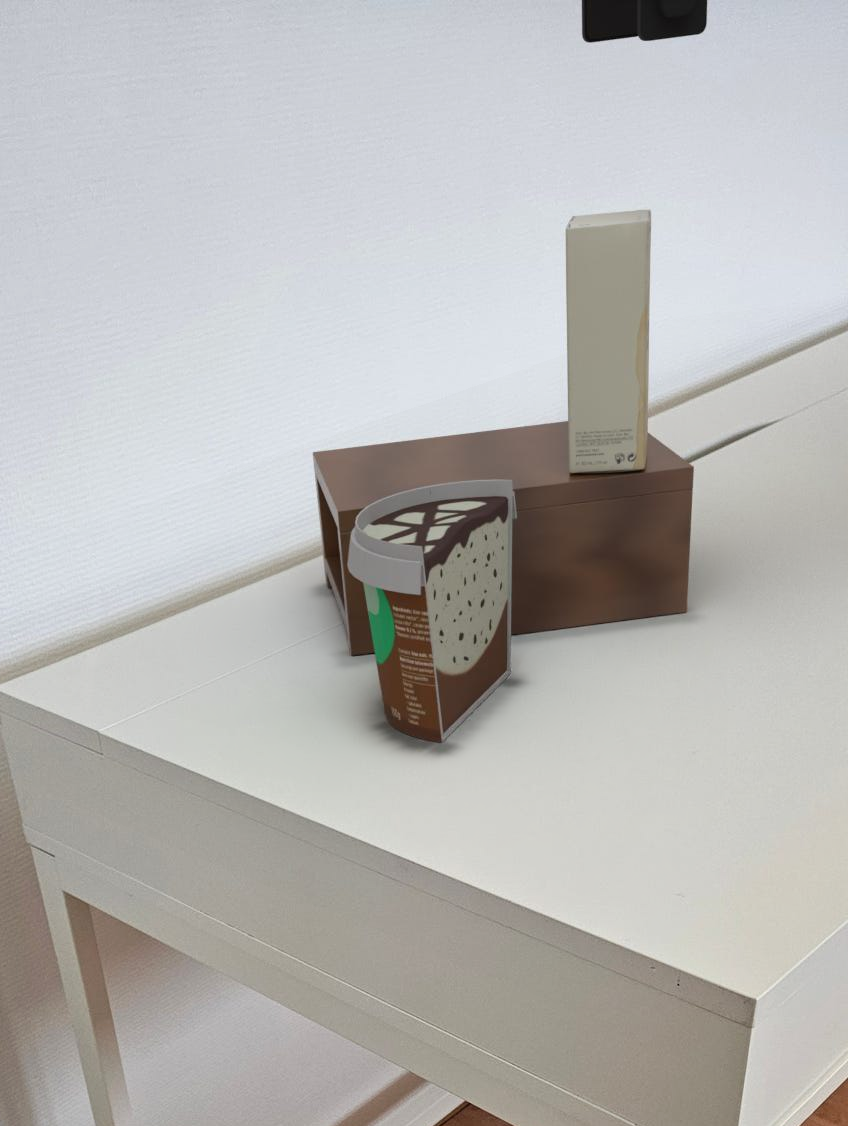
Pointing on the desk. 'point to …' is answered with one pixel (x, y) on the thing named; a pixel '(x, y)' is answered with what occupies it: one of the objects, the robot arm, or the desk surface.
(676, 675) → the desk surface
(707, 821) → the desk surface
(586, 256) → the cosmetic box
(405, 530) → the food container
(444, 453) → the shelf
